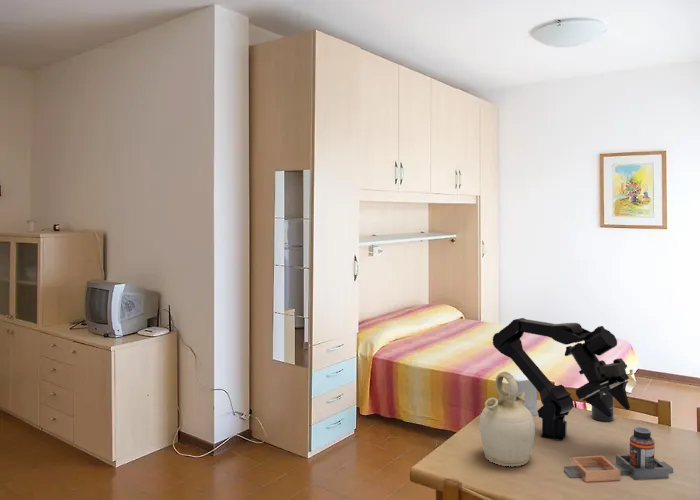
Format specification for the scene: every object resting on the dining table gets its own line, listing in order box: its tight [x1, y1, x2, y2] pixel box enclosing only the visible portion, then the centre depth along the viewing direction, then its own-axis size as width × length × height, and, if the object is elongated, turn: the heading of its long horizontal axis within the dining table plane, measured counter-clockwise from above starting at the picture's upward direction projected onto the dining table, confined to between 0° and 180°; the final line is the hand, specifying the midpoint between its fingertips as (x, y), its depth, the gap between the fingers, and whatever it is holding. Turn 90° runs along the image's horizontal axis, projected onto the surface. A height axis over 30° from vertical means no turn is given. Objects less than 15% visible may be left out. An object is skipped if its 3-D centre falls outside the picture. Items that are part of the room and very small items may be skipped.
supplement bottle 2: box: [629, 426, 656, 469], centre depth 152 cm, size 6×6×11 cm
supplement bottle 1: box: [591, 387, 615, 422], centre depth 190 cm, size 7×7×12 cm
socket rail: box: [563, 453, 674, 483], centre depth 152 cm, size 28×9×2 cm, turn 93°
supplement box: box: [507, 373, 538, 417], centre depth 197 cm, size 7×7×13 cm
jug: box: [478, 371, 536, 468], centre depth 162 cm, size 15×16×25 cm
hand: (619, 413), depth 159 cm, fingers open, 9 cm apart
